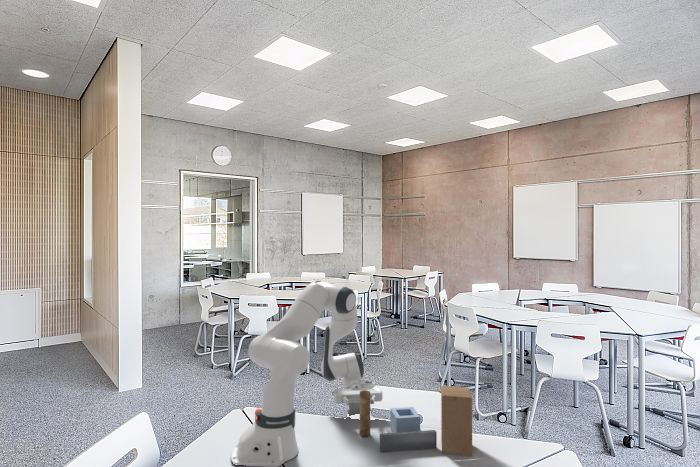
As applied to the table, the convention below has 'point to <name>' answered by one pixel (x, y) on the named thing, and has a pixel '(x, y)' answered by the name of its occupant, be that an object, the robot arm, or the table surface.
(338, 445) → the table surface
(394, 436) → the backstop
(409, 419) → the blue hollow square block
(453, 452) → the wooden block
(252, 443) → the robot arm
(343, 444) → the table surface
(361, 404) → the dowel
